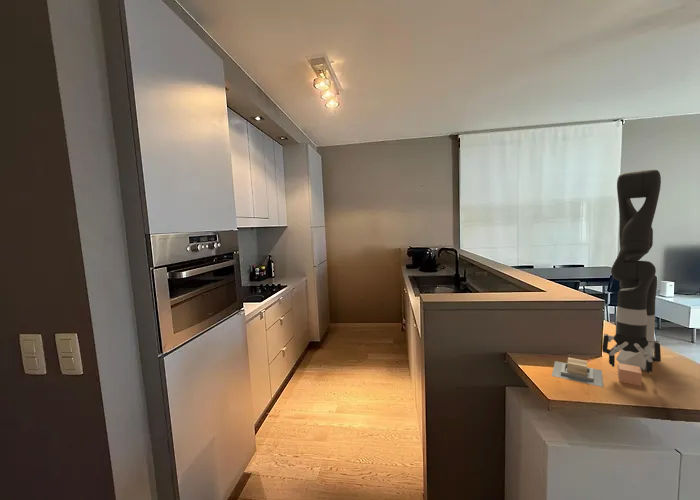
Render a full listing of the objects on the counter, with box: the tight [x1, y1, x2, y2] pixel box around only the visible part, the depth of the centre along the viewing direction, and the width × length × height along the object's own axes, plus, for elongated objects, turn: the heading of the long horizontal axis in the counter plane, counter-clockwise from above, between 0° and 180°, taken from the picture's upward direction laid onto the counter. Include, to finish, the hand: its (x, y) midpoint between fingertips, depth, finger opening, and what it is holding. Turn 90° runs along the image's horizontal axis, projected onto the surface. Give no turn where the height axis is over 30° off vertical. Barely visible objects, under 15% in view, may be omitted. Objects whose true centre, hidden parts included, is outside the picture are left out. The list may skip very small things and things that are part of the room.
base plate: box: [551, 360, 604, 388], centre depth 110 cm, size 14×14×2 cm
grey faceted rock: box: [615, 350, 647, 371], centre depth 113 cm, size 8×9×10 cm
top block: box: [617, 362, 643, 387], centre depth 104 cm, size 6×6×6 cm
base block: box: [566, 357, 588, 376], centre depth 110 cm, size 6×6×4 cm
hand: (629, 368), depth 103 cm, fingers open, 8 cm apart
